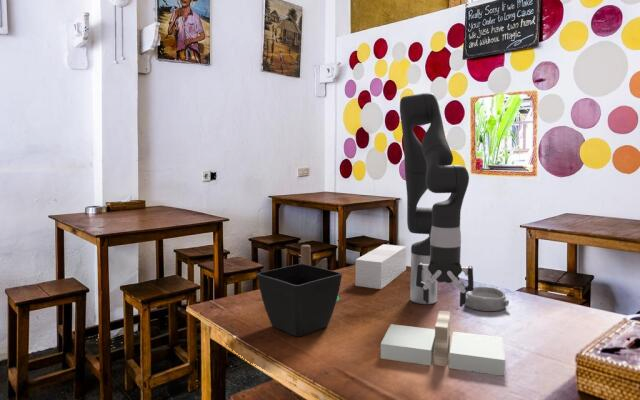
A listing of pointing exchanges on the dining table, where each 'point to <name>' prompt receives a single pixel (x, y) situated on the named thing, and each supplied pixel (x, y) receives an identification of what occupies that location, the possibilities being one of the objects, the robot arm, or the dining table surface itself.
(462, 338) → the slotted board
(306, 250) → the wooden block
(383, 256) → the long white block
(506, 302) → the dish
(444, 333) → the beige metallic bar
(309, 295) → the flower pot
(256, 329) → the dining table surface
